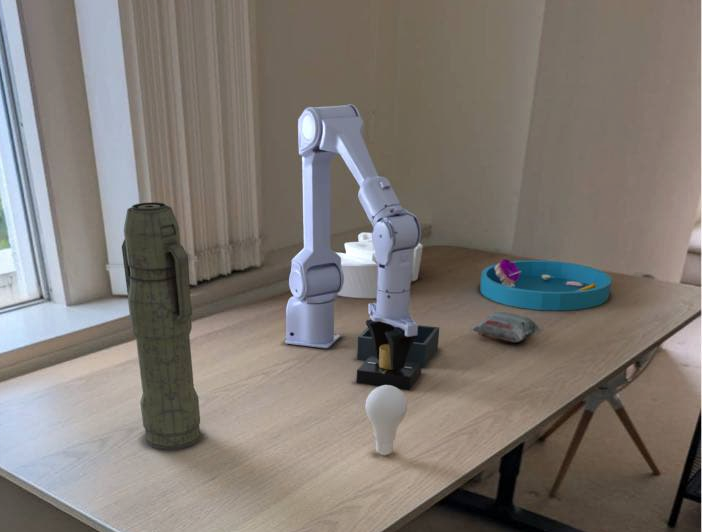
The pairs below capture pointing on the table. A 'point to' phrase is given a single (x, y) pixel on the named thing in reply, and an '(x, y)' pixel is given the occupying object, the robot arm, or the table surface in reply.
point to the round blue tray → (545, 285)
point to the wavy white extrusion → (366, 267)
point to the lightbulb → (385, 415)
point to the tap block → (389, 374)
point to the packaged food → (506, 327)
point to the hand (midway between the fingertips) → (389, 363)
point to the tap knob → (385, 357)
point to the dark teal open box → (418, 352)
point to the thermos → (161, 324)
